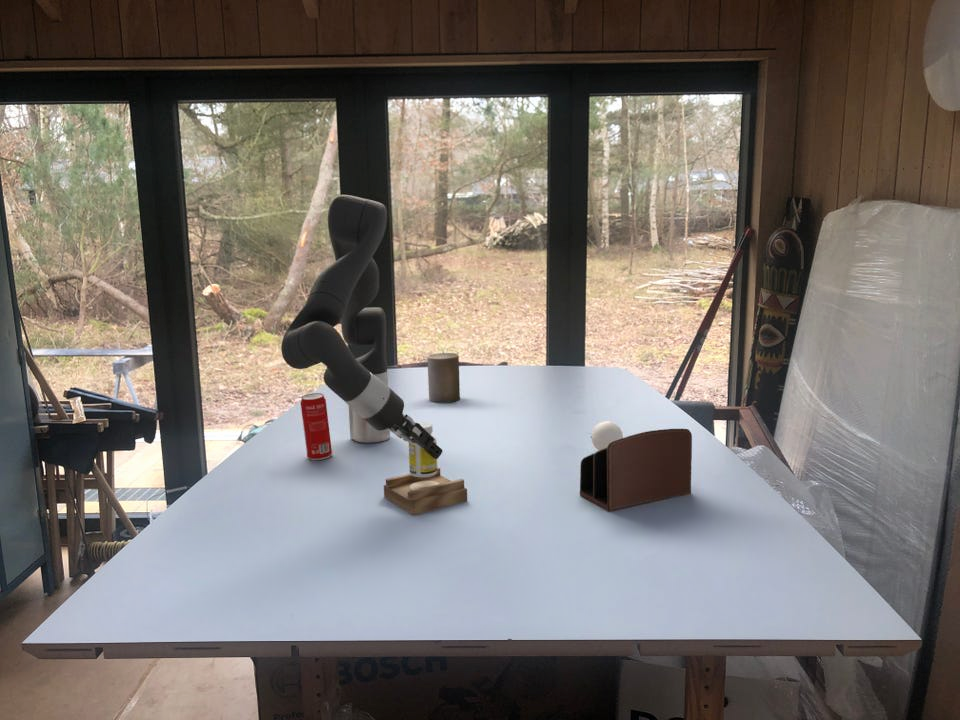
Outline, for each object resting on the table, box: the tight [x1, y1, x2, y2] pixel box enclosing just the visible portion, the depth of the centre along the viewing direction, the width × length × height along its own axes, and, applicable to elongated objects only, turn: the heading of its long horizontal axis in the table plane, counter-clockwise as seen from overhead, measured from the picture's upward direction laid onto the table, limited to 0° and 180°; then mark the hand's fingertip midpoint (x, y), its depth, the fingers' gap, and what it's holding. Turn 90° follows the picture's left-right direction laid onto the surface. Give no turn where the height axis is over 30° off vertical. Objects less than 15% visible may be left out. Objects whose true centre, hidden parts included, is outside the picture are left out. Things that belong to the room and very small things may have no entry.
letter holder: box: [579, 428, 693, 512], centre depth 148 cm, size 10×20×14 cm, turn 116°
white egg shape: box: [588, 420, 624, 451], centre depth 177 cm, size 10×7×7 cm
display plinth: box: [383, 466, 468, 516], centre depth 149 cm, size 12×12×4 cm
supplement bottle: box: [408, 422, 438, 477], centre depth 148 cm, size 5×5×10 cm
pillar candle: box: [426, 351, 461, 404], centre depth 232 cm, size 10×10×15 cm
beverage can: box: [300, 392, 333, 461], centre depth 177 cm, size 6×6×15 cm
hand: (430, 451), depth 149 cm, fingers closed on supplement bottle, 5 cm apart
